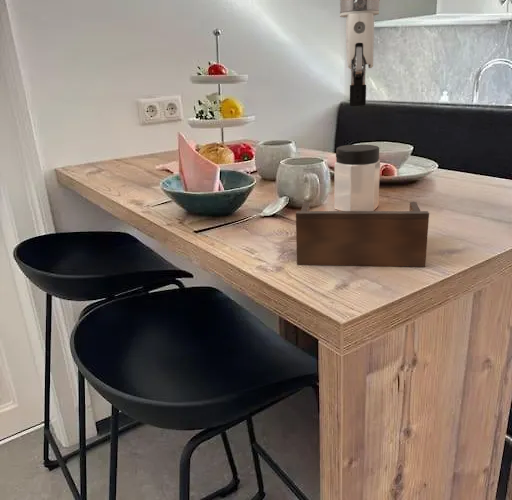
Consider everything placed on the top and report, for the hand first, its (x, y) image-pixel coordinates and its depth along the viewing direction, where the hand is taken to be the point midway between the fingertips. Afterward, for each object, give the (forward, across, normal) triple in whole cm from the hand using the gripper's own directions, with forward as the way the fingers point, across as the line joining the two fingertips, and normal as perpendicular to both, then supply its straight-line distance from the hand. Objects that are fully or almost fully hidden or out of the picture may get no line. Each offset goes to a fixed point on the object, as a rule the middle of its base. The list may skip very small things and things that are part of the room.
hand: (357, 104), depth 104 cm
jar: (+19, -11, 0) cm, 22 cm away
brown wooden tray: (+19, -36, 0) cm, 40 cm away
